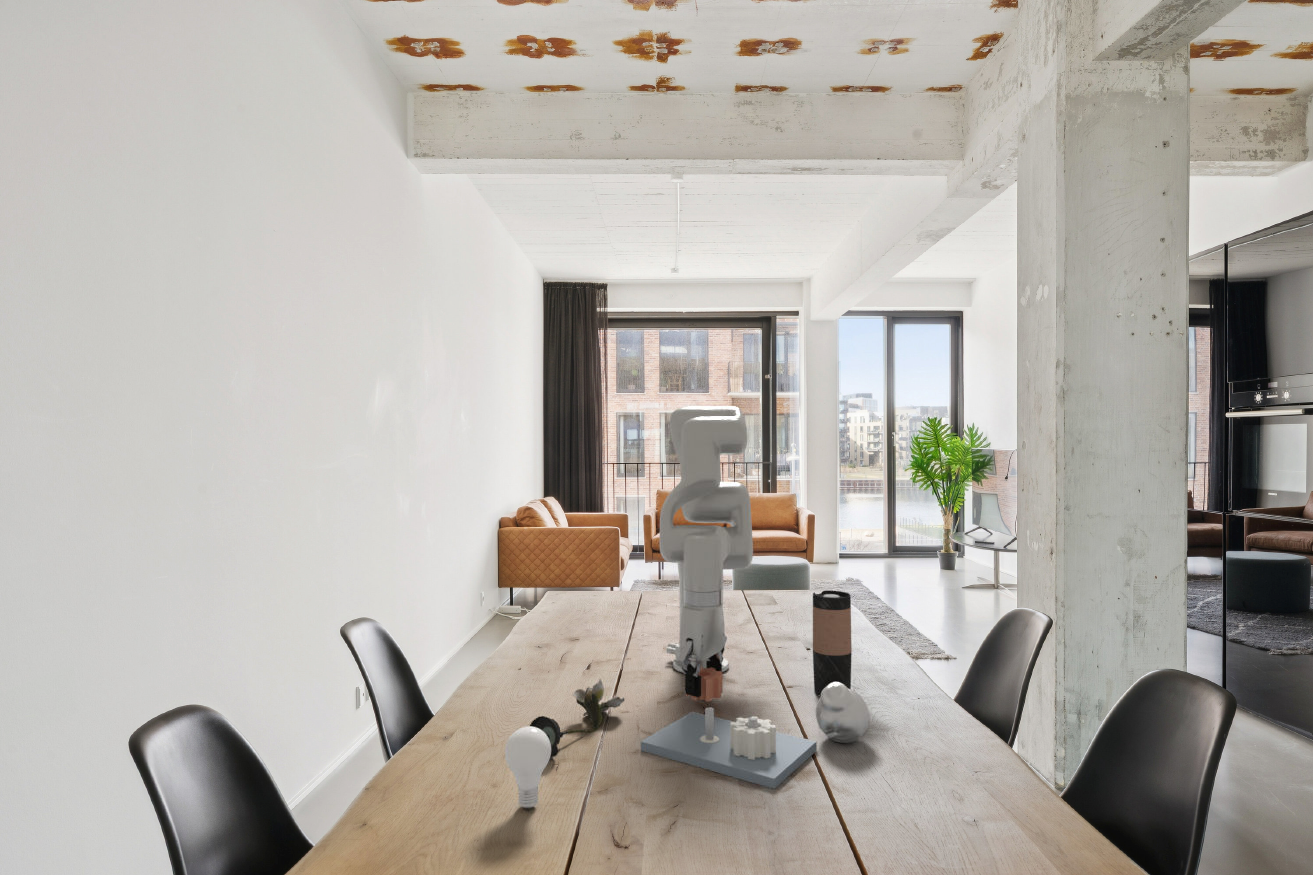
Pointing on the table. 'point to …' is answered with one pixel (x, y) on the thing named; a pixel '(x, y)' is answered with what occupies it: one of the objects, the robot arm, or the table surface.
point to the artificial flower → (593, 709)
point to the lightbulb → (528, 761)
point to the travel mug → (831, 639)
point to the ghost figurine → (842, 713)
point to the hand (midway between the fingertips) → (703, 687)
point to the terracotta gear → (709, 684)
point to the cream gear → (753, 738)
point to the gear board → (726, 749)
